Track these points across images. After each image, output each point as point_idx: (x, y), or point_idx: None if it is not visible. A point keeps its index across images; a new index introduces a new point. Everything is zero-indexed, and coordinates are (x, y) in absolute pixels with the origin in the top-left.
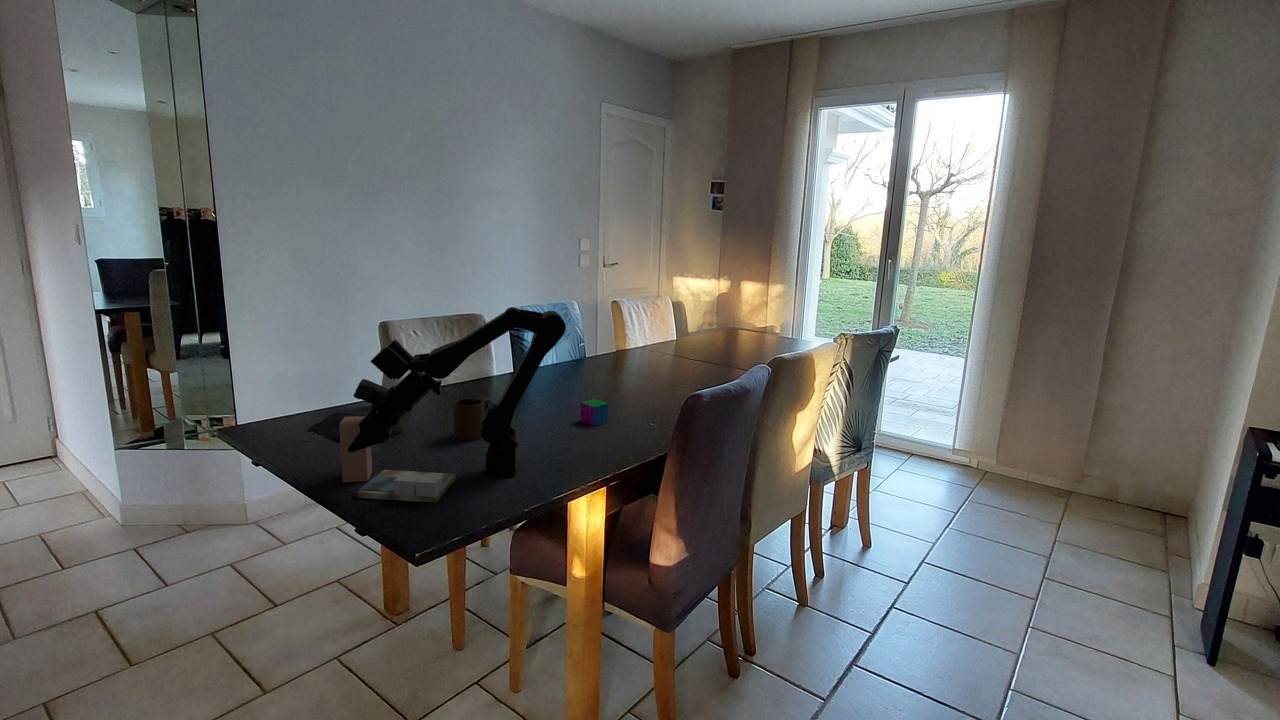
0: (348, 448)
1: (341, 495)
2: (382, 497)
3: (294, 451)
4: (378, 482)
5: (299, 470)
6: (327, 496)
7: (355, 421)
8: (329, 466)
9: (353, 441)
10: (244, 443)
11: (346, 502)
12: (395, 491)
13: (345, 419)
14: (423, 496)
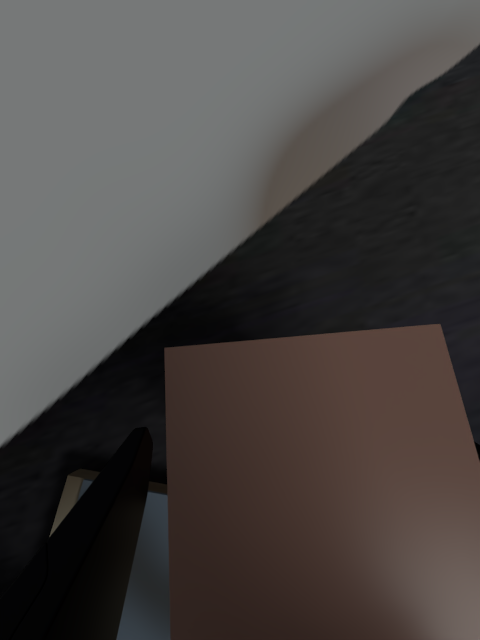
0: (128, 437)
1: (108, 406)
2: None
3: (441, 170)
4: (139, 537)
5: (304, 227)
6: (107, 366)
7: (261, 530)
8: (341, 295)
9: (74, 505)
10: (470, 55)
11: (49, 441)
12: None
13: (336, 364)
14: None
